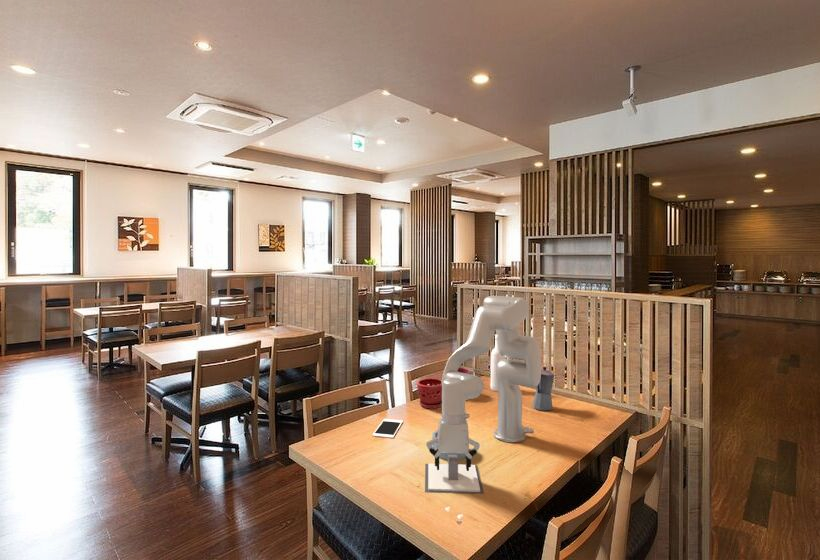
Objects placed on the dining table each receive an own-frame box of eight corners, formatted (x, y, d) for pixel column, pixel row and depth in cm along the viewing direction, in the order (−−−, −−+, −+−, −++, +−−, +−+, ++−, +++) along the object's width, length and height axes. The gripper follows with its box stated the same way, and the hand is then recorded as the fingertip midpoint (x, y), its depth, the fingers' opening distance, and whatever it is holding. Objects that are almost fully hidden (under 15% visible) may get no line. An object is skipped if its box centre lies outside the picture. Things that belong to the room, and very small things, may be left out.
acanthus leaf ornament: (459, 527, 118) (459, 520, 118) (442, 515, 124) (442, 509, 124) (477, 516, 123) (477, 510, 123) (460, 505, 128) (460, 499, 128)
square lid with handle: (474, 466, 149) (475, 447, 148) (480, 492, 133) (480, 471, 133) (428, 465, 150) (428, 446, 149) (428, 490, 134) (428, 469, 133)
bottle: (488, 386, 241) (489, 333, 240) (502, 386, 242) (503, 333, 240) (492, 391, 233) (493, 336, 232) (506, 391, 234) (507, 336, 232)
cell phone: (403, 422, 191) (403, 420, 191) (393, 439, 174) (393, 437, 174) (384, 420, 193) (384, 418, 193) (371, 437, 175) (372, 435, 175)
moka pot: (557, 405, 212) (558, 365, 211) (548, 415, 199) (549, 372, 198) (537, 402, 217) (538, 362, 216) (528, 411, 204) (528, 369, 203)
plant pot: (426, 399, 221) (426, 376, 220) (449, 404, 213) (449, 380, 212) (411, 406, 210) (412, 382, 209) (434, 412, 202) (434, 387, 202)
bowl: (466, 446, 166) (466, 428, 166) (469, 462, 153) (469, 443, 153) (432, 445, 167) (432, 428, 167) (432, 461, 154) (432, 442, 154)
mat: (477, 467, 150) (477, 465, 150) (483, 497, 132) (483, 493, 132) (425, 466, 151) (425, 463, 151) (424, 495, 133) (424, 492, 133)
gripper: (478, 413, 143) (478, 463, 144) (426, 412, 144) (426, 462, 145) (481, 422, 136) (480, 475, 137) (426, 420, 137) (426, 473, 138)
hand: (452, 468), depth 141 cm, fingers open, 9 cm apart
